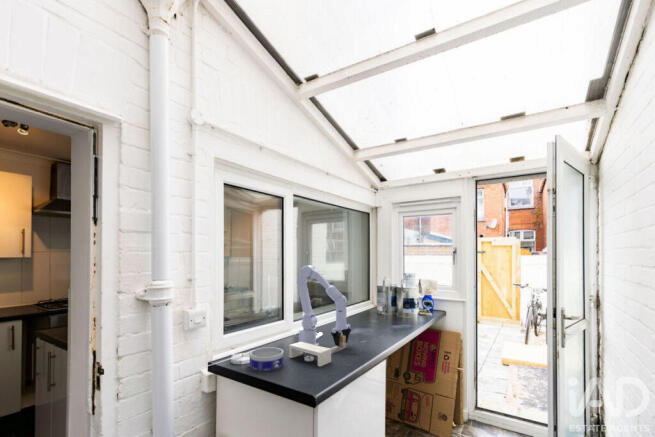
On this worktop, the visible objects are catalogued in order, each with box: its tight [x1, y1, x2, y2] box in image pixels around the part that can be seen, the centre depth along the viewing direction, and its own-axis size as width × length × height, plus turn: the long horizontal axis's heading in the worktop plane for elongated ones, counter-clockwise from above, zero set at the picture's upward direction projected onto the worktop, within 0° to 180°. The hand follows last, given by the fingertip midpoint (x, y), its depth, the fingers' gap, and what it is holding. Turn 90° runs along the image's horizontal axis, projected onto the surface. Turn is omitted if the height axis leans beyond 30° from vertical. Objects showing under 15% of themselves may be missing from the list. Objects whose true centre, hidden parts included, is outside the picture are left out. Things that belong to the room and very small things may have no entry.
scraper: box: [313, 334, 347, 358], centre depth 168 cm, size 5×21×6 cm, turn 141°
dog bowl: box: [249, 346, 284, 372], centre depth 149 cm, size 15×15×6 cm
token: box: [304, 355, 315, 363], centre depth 155 cm, size 4×4×2 cm
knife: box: [316, 331, 324, 341], centre depth 202 cm, size 30×2×8 cm
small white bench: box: [288, 341, 332, 367], centre depth 156 cm, size 20×8×6 cm, turn 51°
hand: (341, 344), depth 175 cm, fingers open, 7 cm apart
